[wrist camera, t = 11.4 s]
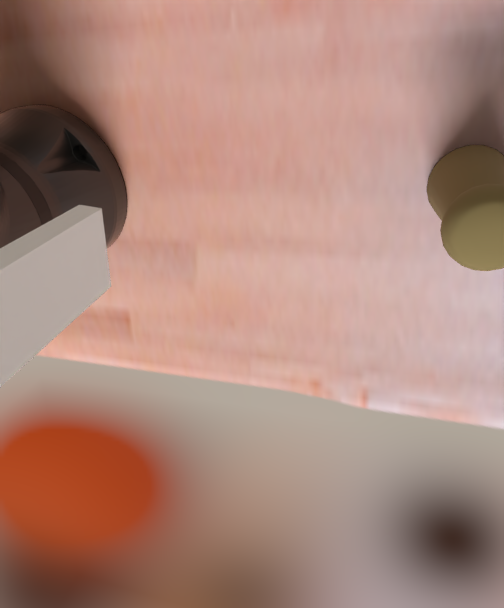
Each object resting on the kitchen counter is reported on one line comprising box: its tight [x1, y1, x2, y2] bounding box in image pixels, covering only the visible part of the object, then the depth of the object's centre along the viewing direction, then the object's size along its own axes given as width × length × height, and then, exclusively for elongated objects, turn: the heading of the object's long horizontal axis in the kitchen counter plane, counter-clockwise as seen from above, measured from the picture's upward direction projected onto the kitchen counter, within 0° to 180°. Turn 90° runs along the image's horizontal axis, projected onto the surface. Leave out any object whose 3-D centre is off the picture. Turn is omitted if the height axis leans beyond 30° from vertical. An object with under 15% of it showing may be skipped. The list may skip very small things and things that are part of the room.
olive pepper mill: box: [427, 145, 504, 271], centre depth 30 cm, size 6×6×11 cm
